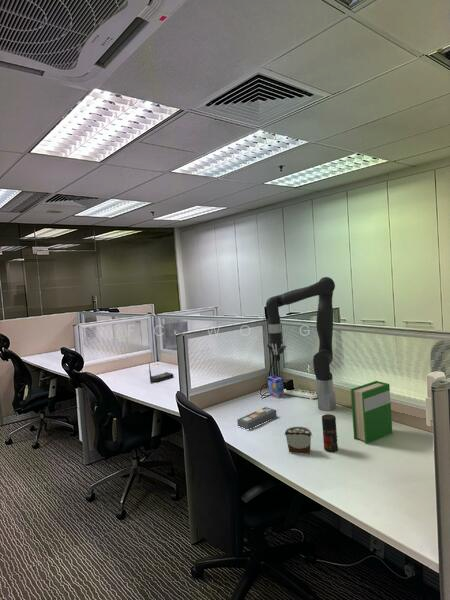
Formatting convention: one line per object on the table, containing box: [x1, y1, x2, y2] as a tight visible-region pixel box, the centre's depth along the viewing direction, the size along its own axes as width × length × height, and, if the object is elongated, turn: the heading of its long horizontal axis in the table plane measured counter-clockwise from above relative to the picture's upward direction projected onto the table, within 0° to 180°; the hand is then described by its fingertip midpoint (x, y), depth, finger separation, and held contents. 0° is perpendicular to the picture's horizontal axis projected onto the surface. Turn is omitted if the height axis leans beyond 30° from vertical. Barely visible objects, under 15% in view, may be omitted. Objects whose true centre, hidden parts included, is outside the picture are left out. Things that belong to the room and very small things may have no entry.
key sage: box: [242, 417, 252, 422], centre depth 206 cm, size 4×4×3 cm
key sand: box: [254, 408, 265, 416], centre depth 213 cm, size 4×4×3 cm
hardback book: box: [350, 380, 393, 445], centre depth 181 cm, size 18×7×24 cm, turn 119°
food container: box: [283, 426, 313, 455], centre depth 174 cm, size 12×6×10 cm, turn 71°
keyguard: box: [236, 406, 278, 430], centre depth 211 cm, size 8×22×4 cm, turn 131°
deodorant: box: [321, 413, 339, 453], centre depth 173 cm, size 6×6×15 cm
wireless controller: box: [148, 362, 174, 385], centre depth 315 cm, size 20×14×17 cm
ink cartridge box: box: [267, 373, 285, 399], centre depth 251 cm, size 10×6×14 cm, turn 29°
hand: (277, 360), depth 225 cm, fingers closed
